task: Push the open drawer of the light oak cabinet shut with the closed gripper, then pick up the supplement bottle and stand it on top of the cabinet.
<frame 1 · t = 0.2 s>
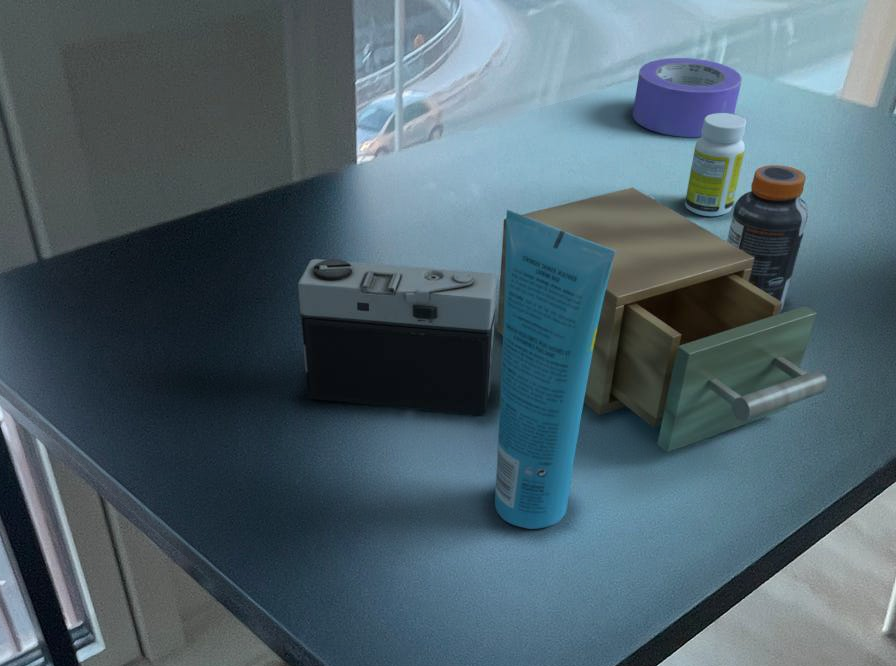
drawer: (698, 353, 74), point 5 cm above the table, slide at 6.0 cm
pill bottle: (747, 306, 89), on the table
camera: (404, 384, 80), on the table
tube: (530, 509, 69), on the table
tape roll: (681, 121, 121), on the table
supplement bottle: (707, 209, 103), on the table
cabinet: (608, 351, 83), on the table
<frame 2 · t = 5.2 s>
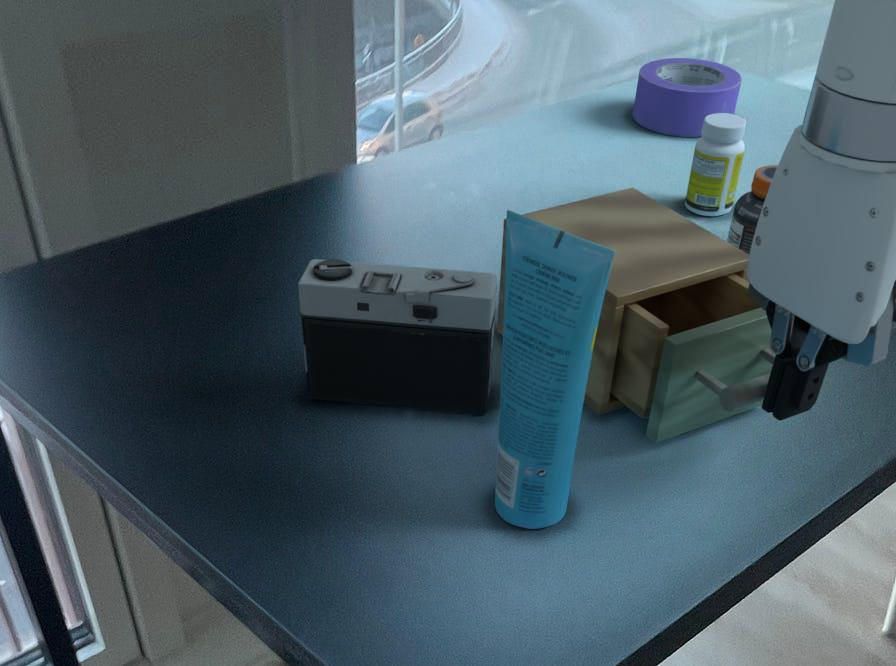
hand: (786, 409, 68), 5 cm above the table, tool pointing down, fingers closed
drawer: (686, 345, 75), point 5 cm above the table, slide at 4.7 cm
everything else where it was.
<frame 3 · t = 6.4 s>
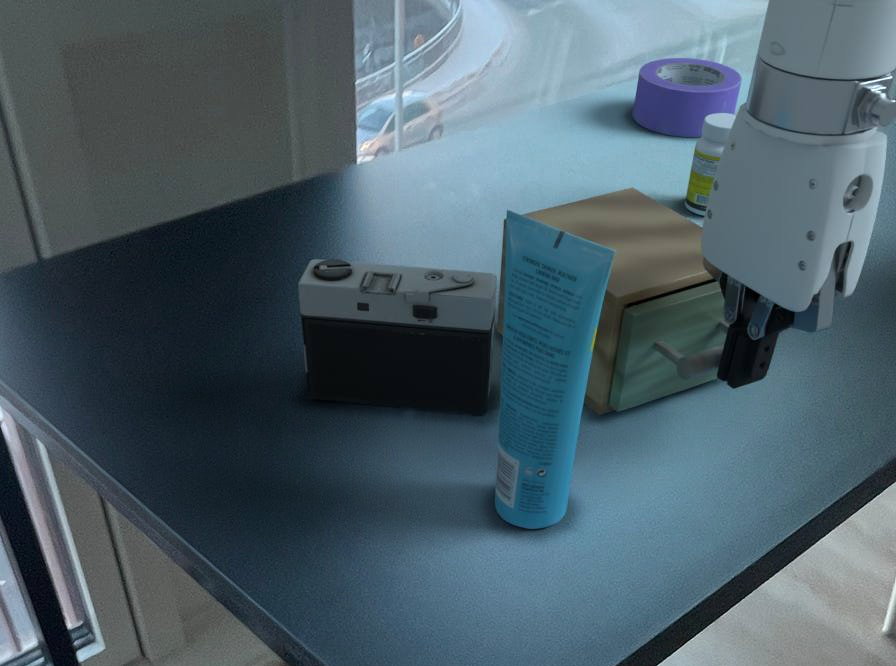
hand: (740, 378, 71), 5 cm above the table, tool pointing down, fingers closed
drawer: (648, 319, 77), point 5 cm above the table, slide at 0.2 cm, touching gripper
everything else where it was.
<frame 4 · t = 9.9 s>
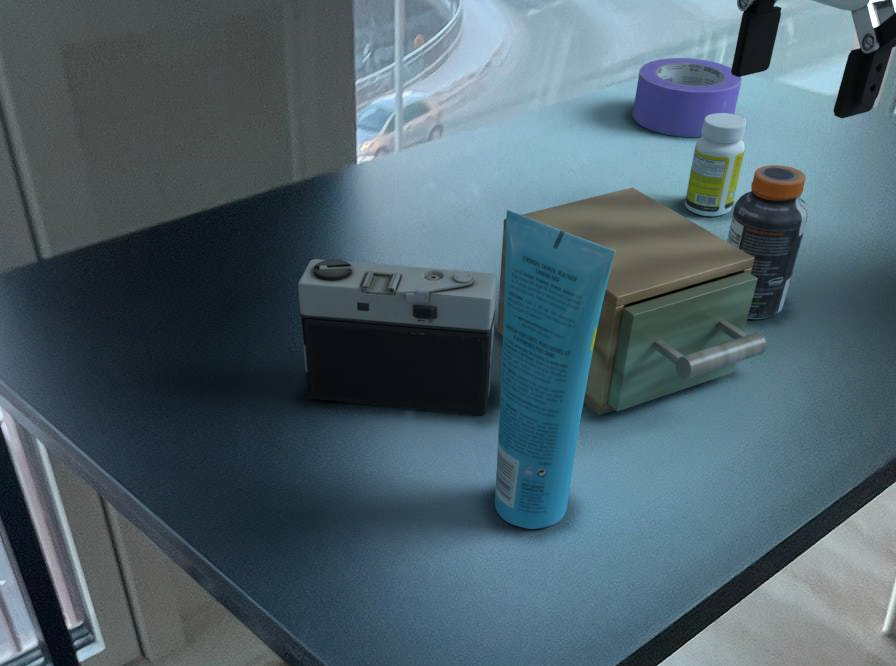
hand: (798, 92, 70), 19 cm above the table, tool pointing down, fingers open, 9 cm apart
drawer: (647, 318, 77), point 5 cm above the table, slide at 0.1 cm
everything else where it was.
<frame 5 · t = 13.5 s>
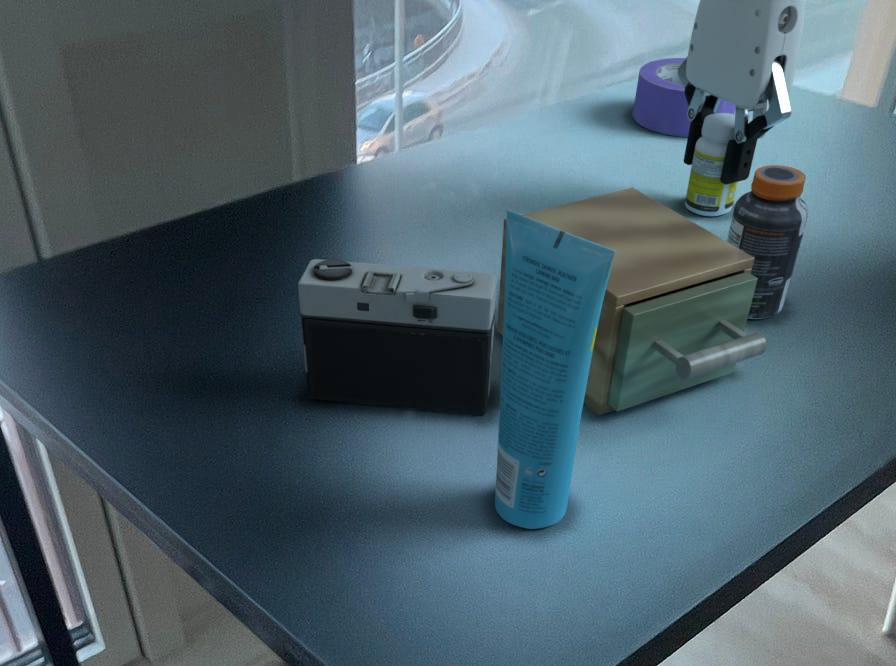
hand: (715, 169, 100), 4 cm above the table, tool pointing down, fingers closed on supplement bottle, 4 cm apart
supplement bottle: (707, 209, 103), on the table, touching gripper
everything else where it was.
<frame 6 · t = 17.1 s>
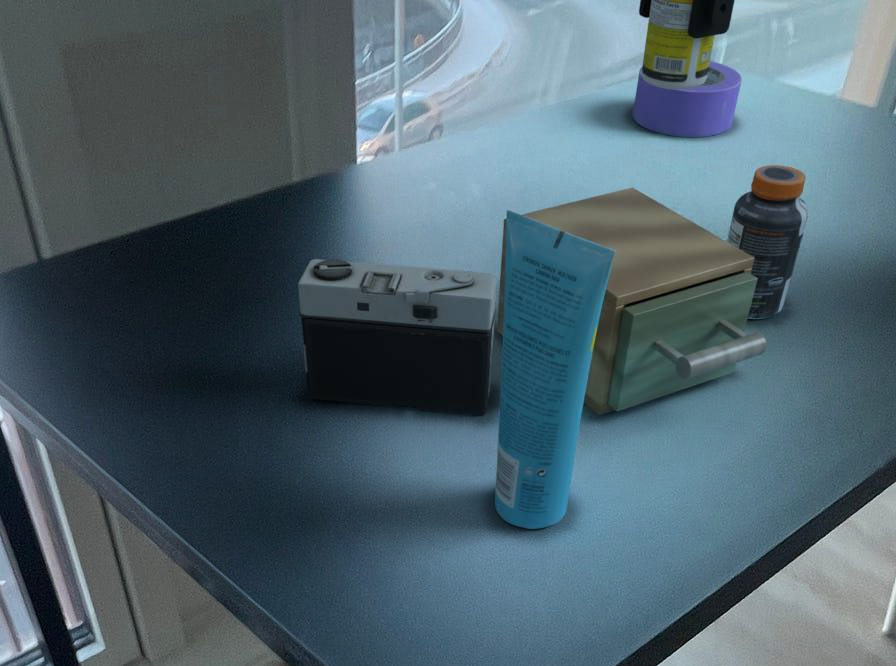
hand: (682, 21, 71), 22 cm above the table, tool pointing down, fingers closed on supplement bottle, 4 cm apart
supplement bottle: (672, 82, 74), point 18 cm above the table, touching gripper
everything else where it was.
when the fingers open (13 cm above the table, at t = 20.6 s): supplement bottle stays where it is, resting on cabinet.
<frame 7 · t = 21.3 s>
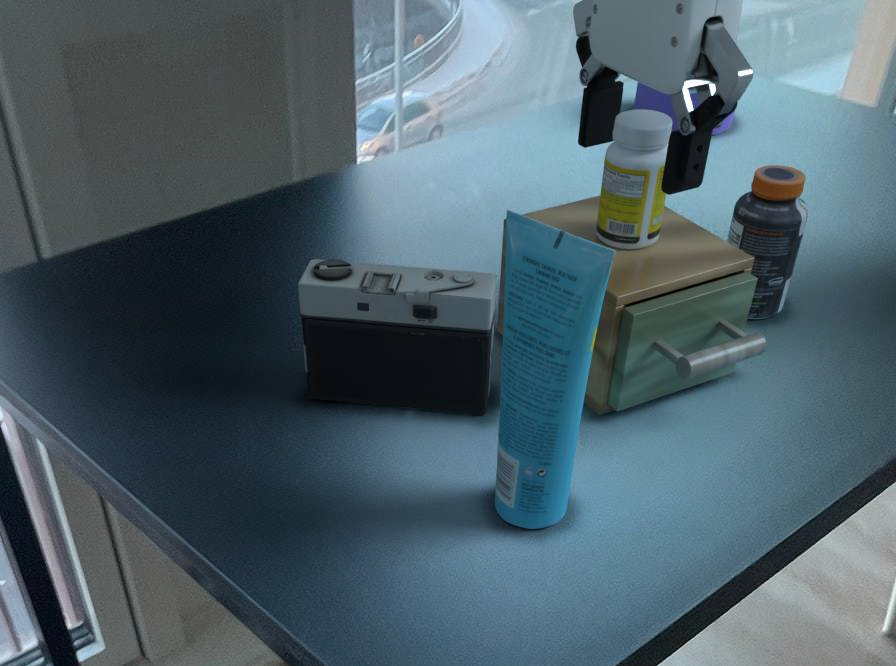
hand: (637, 165, 73), 15 cm above the table, tool pointing down, fingers open, 9 cm apart
supplement bottle: (626, 239, 76), point 9 cm above the table, touching cabinet
everything else where it was.
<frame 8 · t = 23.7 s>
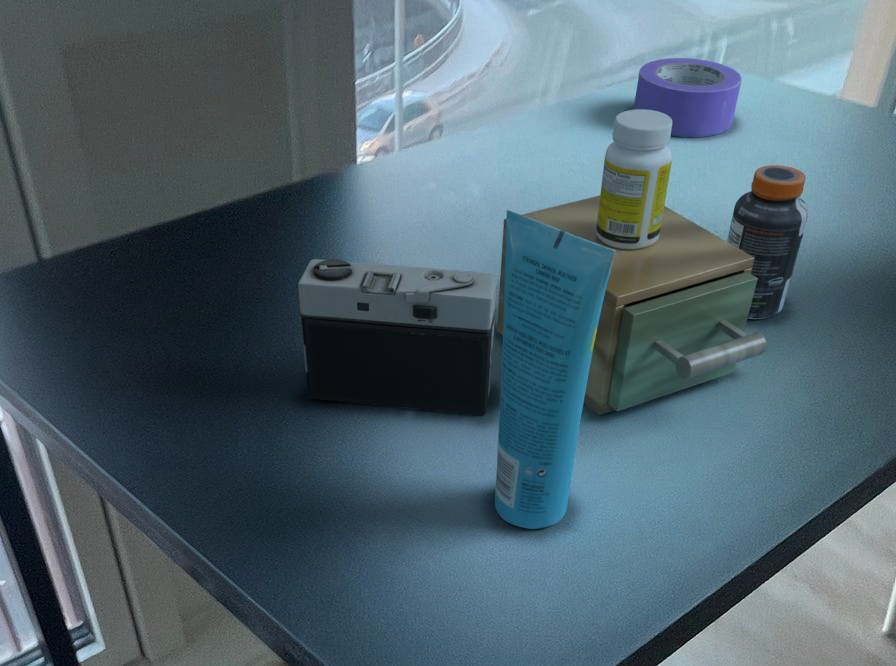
nothing on the table moved.
at the end: drawer slide at 0.1 cm; supplement bottle inside the target area on the cabinet (0.0 cm from its centre), point 9.4 cm above the cabinet's base; supplement bottle tilted 0° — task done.
